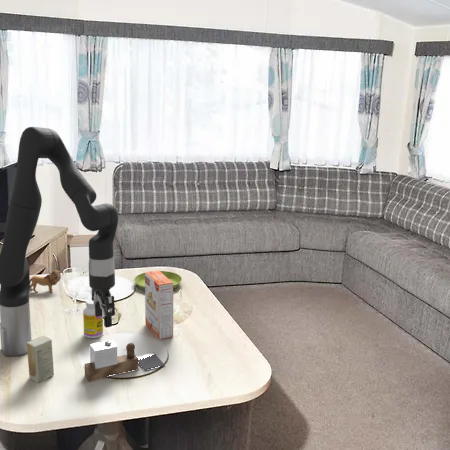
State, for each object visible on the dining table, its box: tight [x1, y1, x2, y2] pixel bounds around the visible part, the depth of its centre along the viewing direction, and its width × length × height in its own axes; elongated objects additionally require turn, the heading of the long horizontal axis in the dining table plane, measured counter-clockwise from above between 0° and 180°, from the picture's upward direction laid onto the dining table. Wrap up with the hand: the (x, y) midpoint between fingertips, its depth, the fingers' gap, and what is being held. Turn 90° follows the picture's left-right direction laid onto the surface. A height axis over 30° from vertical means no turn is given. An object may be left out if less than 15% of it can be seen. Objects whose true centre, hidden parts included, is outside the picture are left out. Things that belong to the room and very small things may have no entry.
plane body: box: [83, 342, 139, 382], centre depth 183 cm, size 16×4×9 cm, turn 120°
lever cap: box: [89, 339, 118, 369], centre depth 181 cm, size 7×5×7 cm
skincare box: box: [26, 335, 55, 384], centre depth 179 cm, size 6×4×12 cm
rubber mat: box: [138, 353, 166, 371], centre depth 191 cm, size 7×9×1 cm
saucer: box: [133, 270, 183, 291], centre depth 257 cm, size 21×21×3 cm
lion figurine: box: [30, 269, 62, 294], centre depth 245 cm, size 15×5×9 cm, turn 104°
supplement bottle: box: [82, 298, 104, 339], centre depth 207 cm, size 7×7×13 cm
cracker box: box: [144, 269, 174, 340], centre depth 211 cm, size 14×6×21 cm, turn 27°
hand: (103, 321), depth 178 cm, fingers open, 8 cm apart
